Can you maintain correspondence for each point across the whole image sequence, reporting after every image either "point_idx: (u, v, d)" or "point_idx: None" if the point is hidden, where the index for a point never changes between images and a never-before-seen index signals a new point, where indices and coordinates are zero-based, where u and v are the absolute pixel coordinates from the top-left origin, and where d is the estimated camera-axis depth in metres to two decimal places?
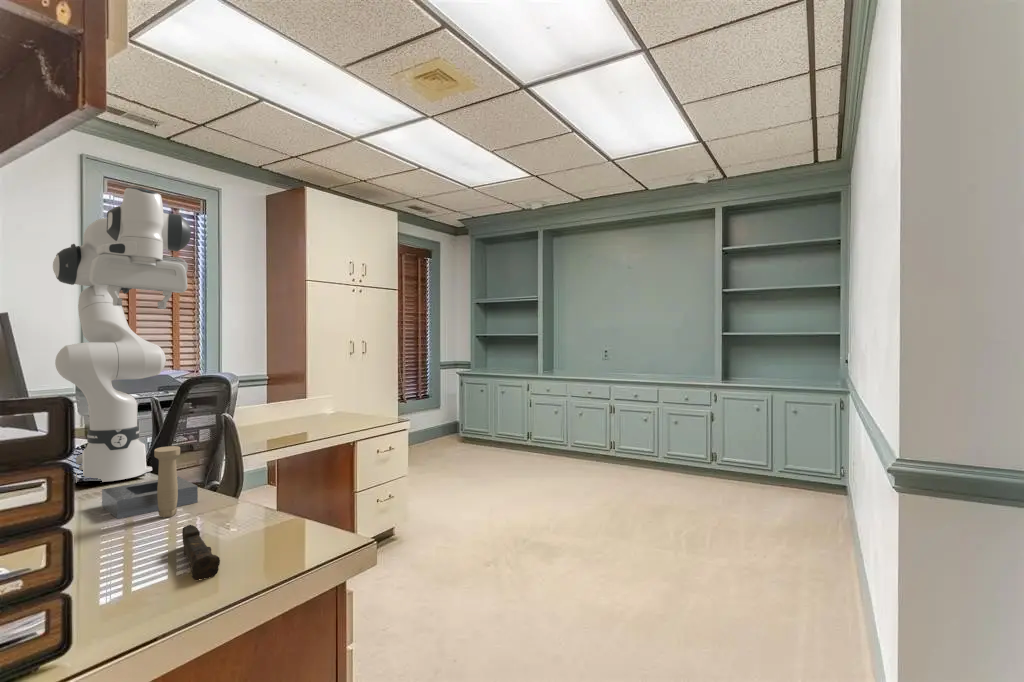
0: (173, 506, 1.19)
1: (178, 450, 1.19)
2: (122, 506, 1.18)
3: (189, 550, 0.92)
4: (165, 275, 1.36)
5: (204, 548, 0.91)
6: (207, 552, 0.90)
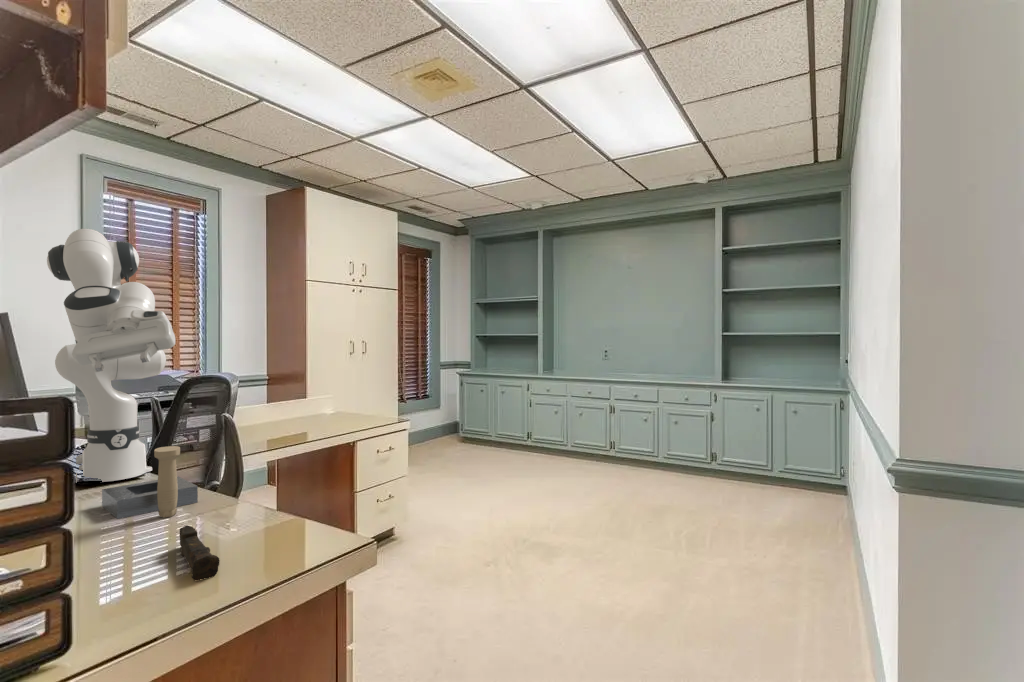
0: (173, 506, 1.19)
1: (178, 450, 1.19)
2: (122, 506, 1.18)
3: (188, 551, 0.92)
4: None
5: (203, 548, 0.91)
6: (206, 552, 0.90)
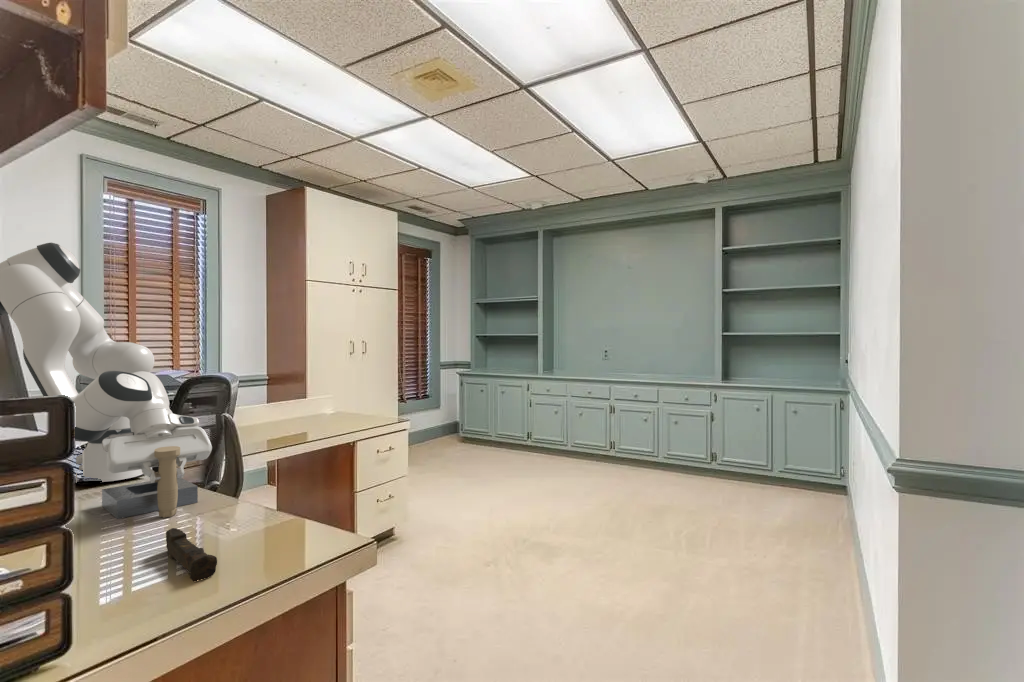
0: (173, 506, 1.19)
1: (178, 450, 1.19)
2: (122, 506, 1.18)
3: (181, 552, 0.91)
4: None
5: (198, 549, 0.91)
6: (202, 553, 0.89)
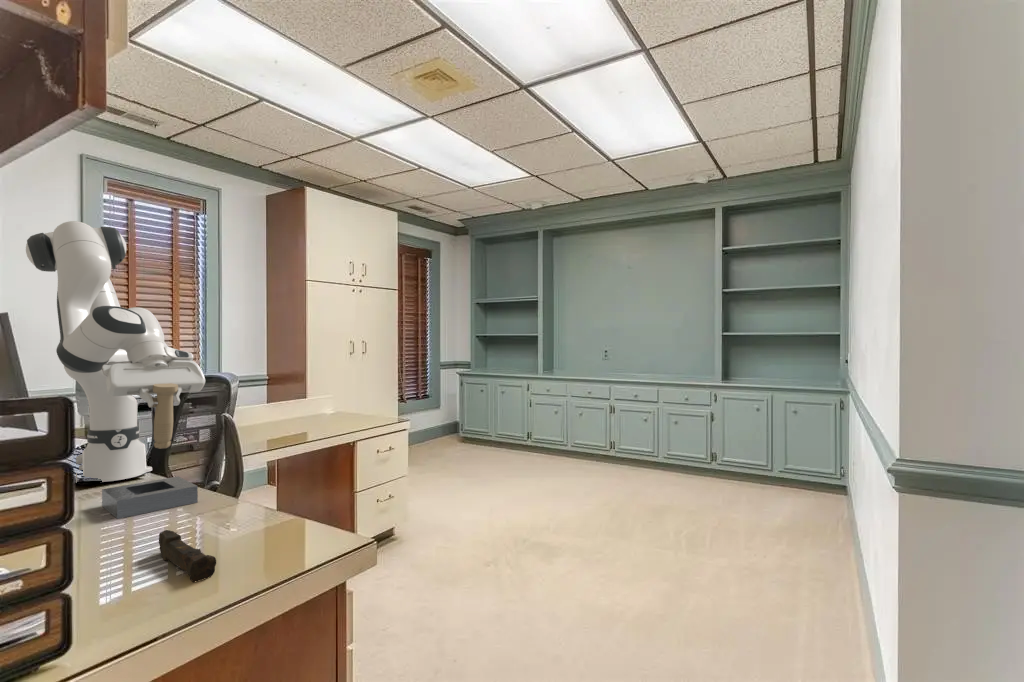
0: (169, 438, 1.27)
1: (177, 387, 1.26)
2: (122, 506, 1.18)
3: (177, 553, 0.90)
4: None
5: (195, 550, 0.90)
6: (201, 553, 0.89)
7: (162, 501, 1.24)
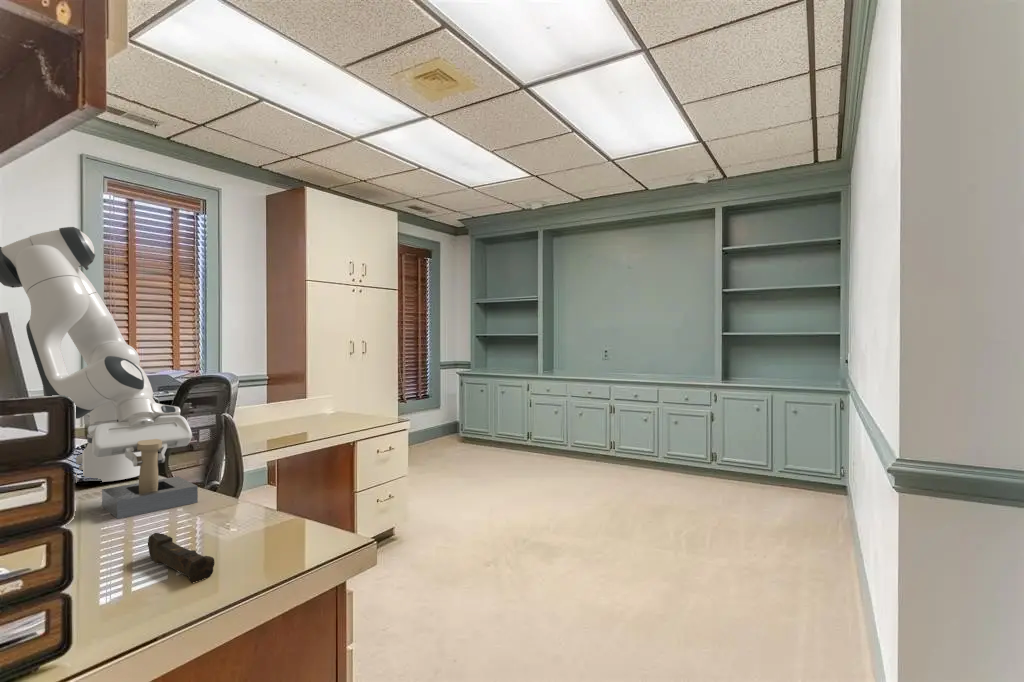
0: None
1: (160, 443, 1.27)
2: (122, 506, 1.18)
3: (172, 556, 0.90)
4: None
5: (191, 551, 0.90)
6: (198, 555, 0.89)
7: (162, 501, 1.24)
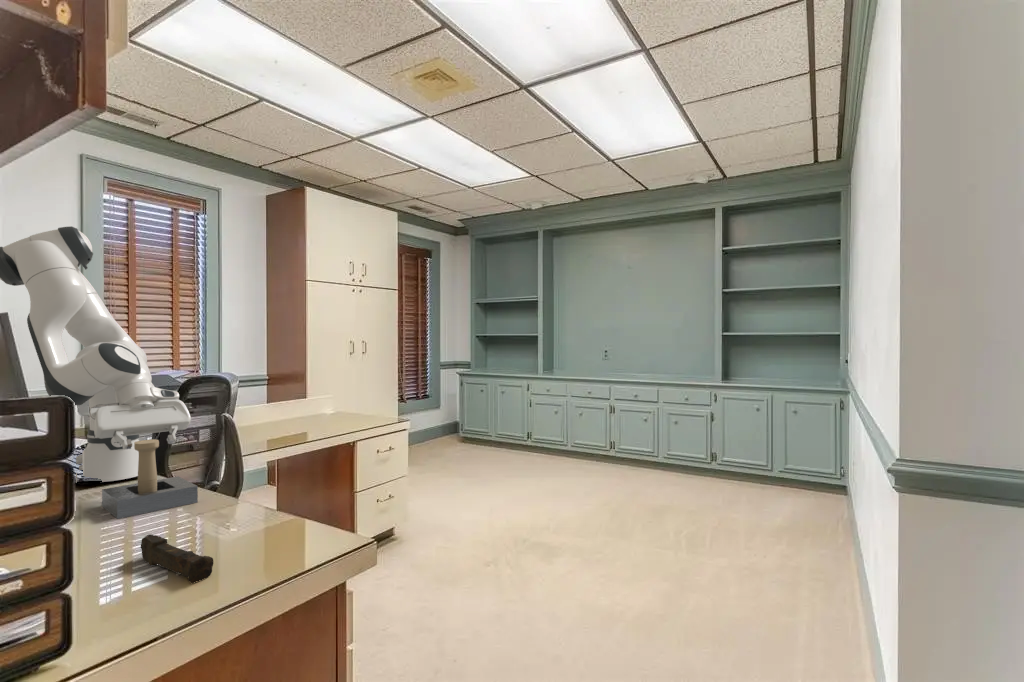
0: None
1: (157, 442, 1.28)
2: (122, 506, 1.18)
3: (169, 557, 0.89)
4: None
5: (189, 552, 0.90)
6: (196, 555, 0.89)
7: (162, 501, 1.24)
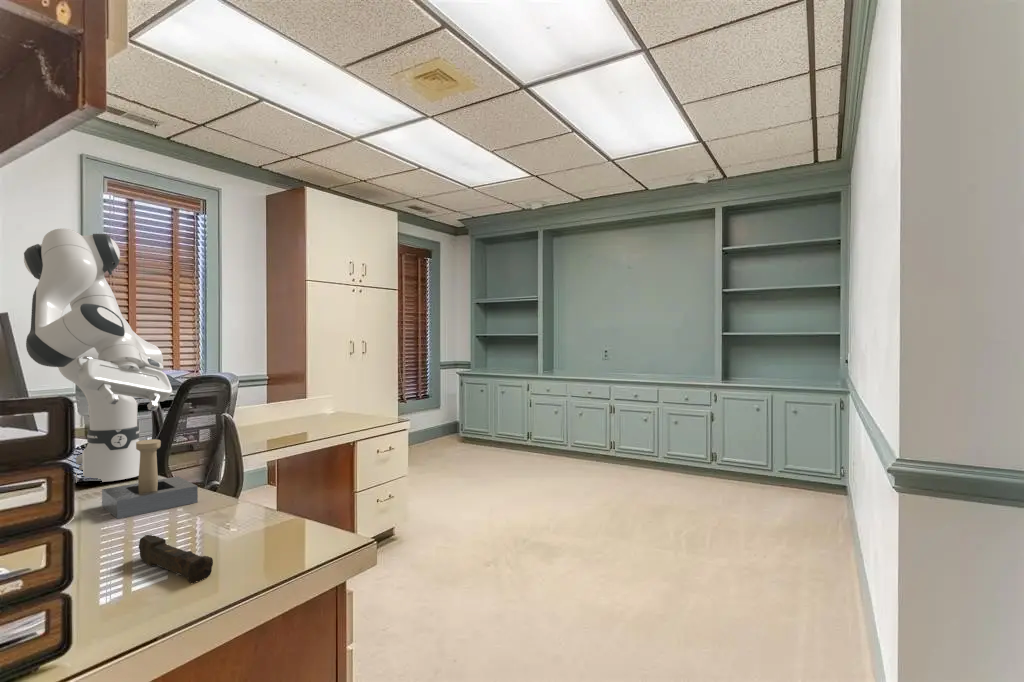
0: None
1: (159, 443, 1.28)
2: (122, 506, 1.18)
3: (168, 557, 0.89)
4: None
5: (188, 552, 0.89)
6: (195, 555, 0.89)
7: (162, 501, 1.24)
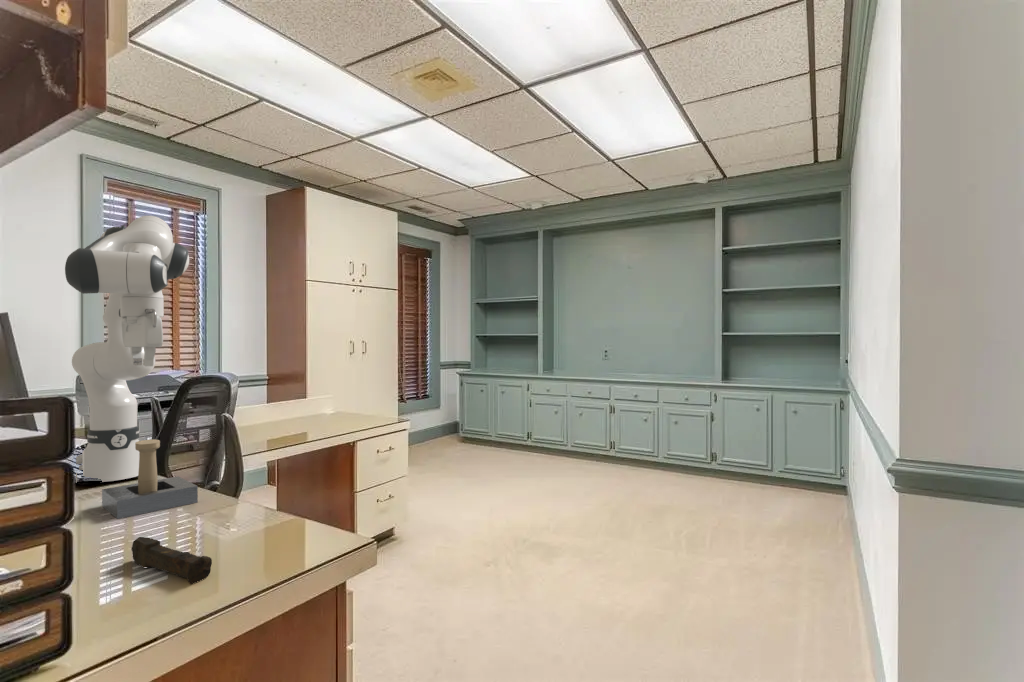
0: None
1: (158, 443, 1.28)
2: (122, 506, 1.18)
3: (165, 558, 0.89)
4: (140, 331, 1.27)
5: (186, 553, 0.89)
6: (194, 555, 0.88)
7: (162, 501, 1.24)
